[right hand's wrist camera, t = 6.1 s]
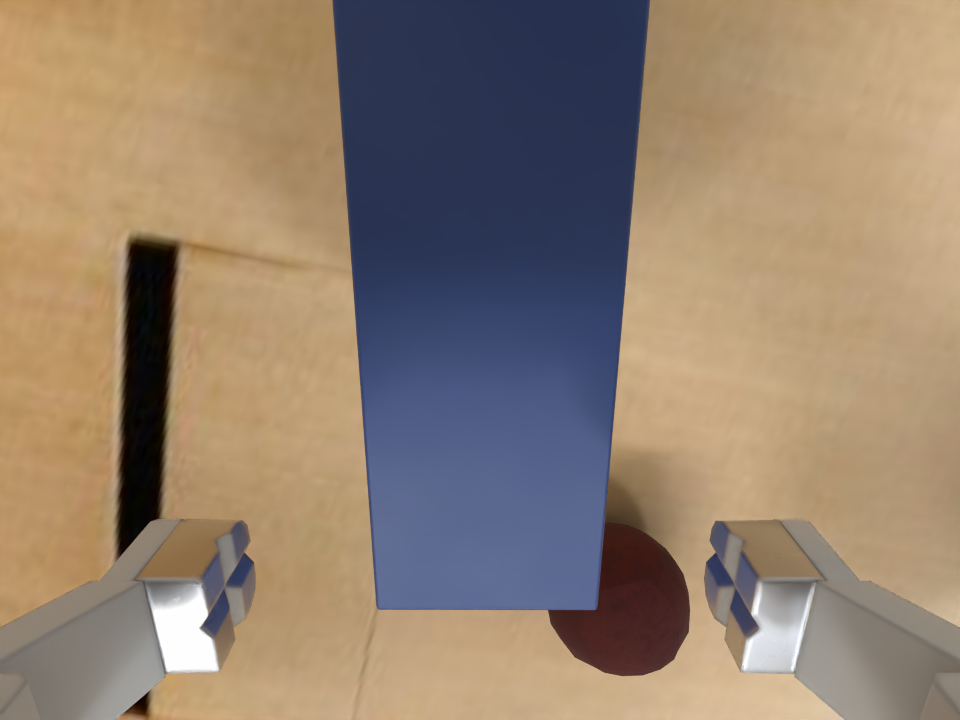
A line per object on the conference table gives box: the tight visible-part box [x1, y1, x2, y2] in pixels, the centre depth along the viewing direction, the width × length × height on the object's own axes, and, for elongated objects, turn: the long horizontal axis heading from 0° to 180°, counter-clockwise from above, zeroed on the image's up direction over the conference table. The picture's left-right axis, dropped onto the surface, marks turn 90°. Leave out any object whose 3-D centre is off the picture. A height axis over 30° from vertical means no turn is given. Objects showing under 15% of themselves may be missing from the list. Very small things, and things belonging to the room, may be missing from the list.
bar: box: [333, 0, 650, 610], centre depth 14 cm, size 24×5×9 cm, turn 0°
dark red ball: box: [548, 523, 690, 676], centre depth 32 cm, size 7×8×7 cm
